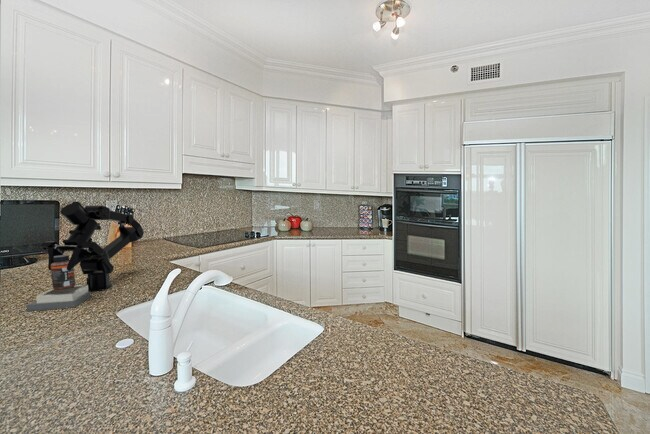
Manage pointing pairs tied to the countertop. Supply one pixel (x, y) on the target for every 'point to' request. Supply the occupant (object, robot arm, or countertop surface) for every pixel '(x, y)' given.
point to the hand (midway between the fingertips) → (58, 269)
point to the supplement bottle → (62, 273)
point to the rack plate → (60, 298)
